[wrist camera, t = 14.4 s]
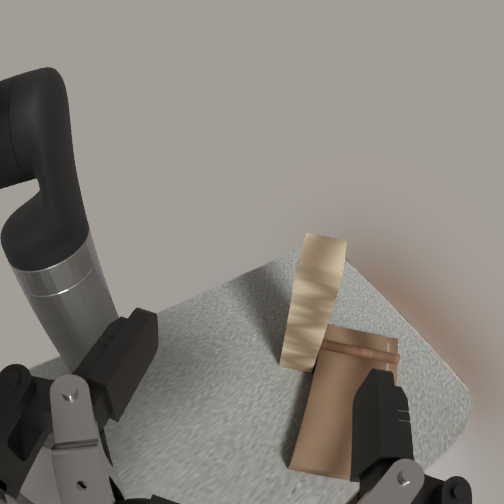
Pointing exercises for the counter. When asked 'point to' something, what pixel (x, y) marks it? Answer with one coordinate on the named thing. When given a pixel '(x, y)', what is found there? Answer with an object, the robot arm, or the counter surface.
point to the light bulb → (41, 480)
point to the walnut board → (336, 403)
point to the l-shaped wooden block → (318, 306)
